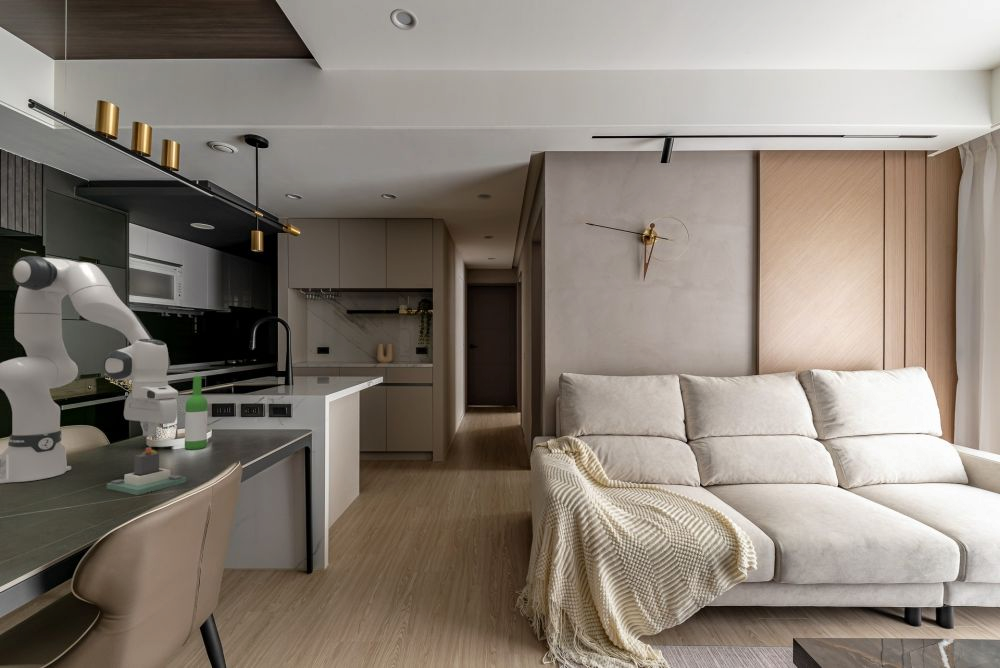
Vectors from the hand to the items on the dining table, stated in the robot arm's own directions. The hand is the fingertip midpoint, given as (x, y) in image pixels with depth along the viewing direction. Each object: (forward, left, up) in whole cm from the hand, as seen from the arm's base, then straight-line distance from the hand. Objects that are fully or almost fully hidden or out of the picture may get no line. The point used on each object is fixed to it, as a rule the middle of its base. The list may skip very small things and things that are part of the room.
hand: (148, 436), depth 144 cm
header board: (0, 0, -15) cm, 15 cm away
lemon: (-15, +9, -15) cm, 23 cm away
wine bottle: (-37, +40, -15) cm, 56 cm away
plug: (0, 0, -14) cm, 14 cm away
